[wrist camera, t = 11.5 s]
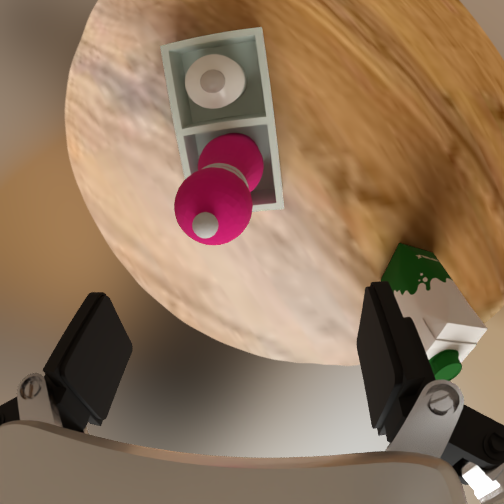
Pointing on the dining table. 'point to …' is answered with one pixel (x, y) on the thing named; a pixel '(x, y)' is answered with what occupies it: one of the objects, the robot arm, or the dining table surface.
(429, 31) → the dining table surface
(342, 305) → the dining table surface
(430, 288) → the milk carton
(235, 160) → the pepper mill
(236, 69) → the salt cellar
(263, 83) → the grey divided tray
